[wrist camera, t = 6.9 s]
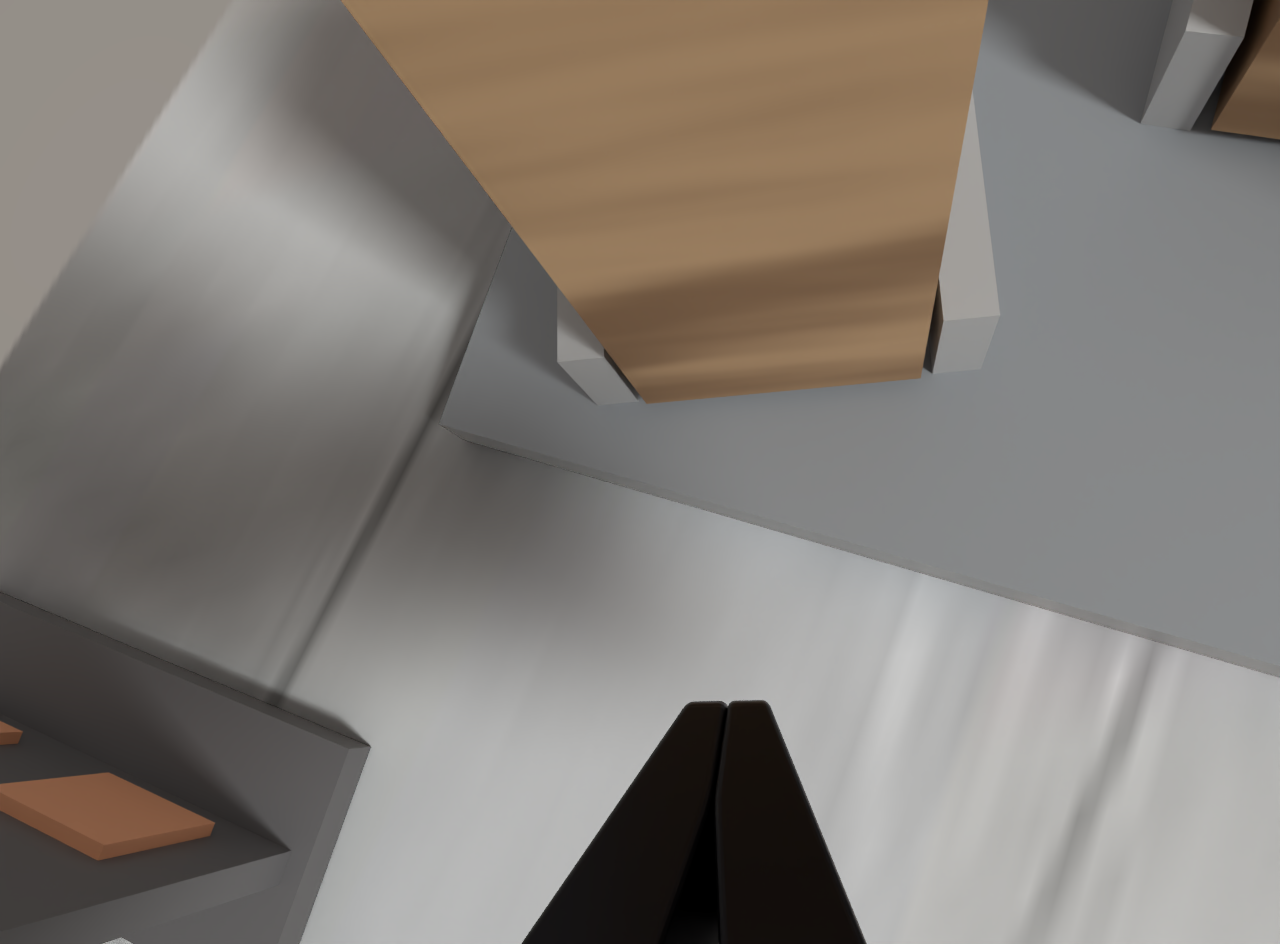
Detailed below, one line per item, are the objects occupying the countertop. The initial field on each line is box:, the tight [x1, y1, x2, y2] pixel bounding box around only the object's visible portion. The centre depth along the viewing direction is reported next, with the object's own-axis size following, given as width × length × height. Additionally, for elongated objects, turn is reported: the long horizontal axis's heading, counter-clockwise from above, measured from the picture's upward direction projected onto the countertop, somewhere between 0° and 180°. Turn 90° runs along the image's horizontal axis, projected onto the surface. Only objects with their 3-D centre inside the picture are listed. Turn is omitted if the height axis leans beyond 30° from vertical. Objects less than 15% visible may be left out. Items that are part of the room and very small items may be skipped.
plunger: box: [341, 0, 988, 404], centre depth 14 cm, size 5×6×14 cm
